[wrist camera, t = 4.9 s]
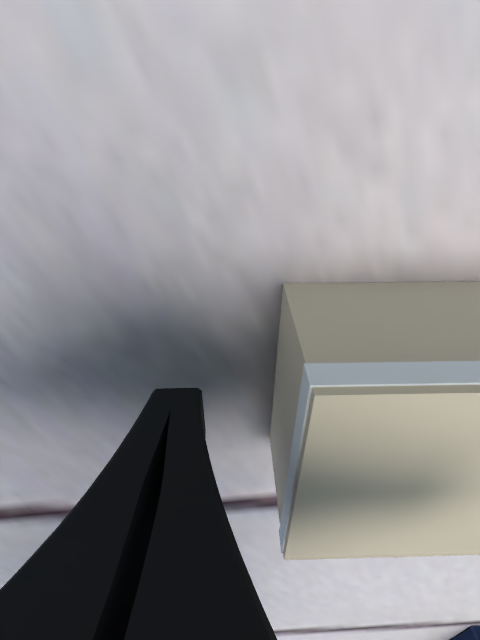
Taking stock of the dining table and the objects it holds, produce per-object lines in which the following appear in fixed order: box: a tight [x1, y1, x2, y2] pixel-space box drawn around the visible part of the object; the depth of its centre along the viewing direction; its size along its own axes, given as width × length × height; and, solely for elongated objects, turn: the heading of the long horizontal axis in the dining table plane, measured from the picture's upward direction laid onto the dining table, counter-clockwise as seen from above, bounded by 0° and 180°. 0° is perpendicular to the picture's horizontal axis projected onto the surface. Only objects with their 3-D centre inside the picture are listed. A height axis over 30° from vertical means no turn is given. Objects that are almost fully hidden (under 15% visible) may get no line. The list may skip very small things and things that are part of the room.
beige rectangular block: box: [270, 281, 480, 560], centre depth 10 cm, size 10×7×4 cm
